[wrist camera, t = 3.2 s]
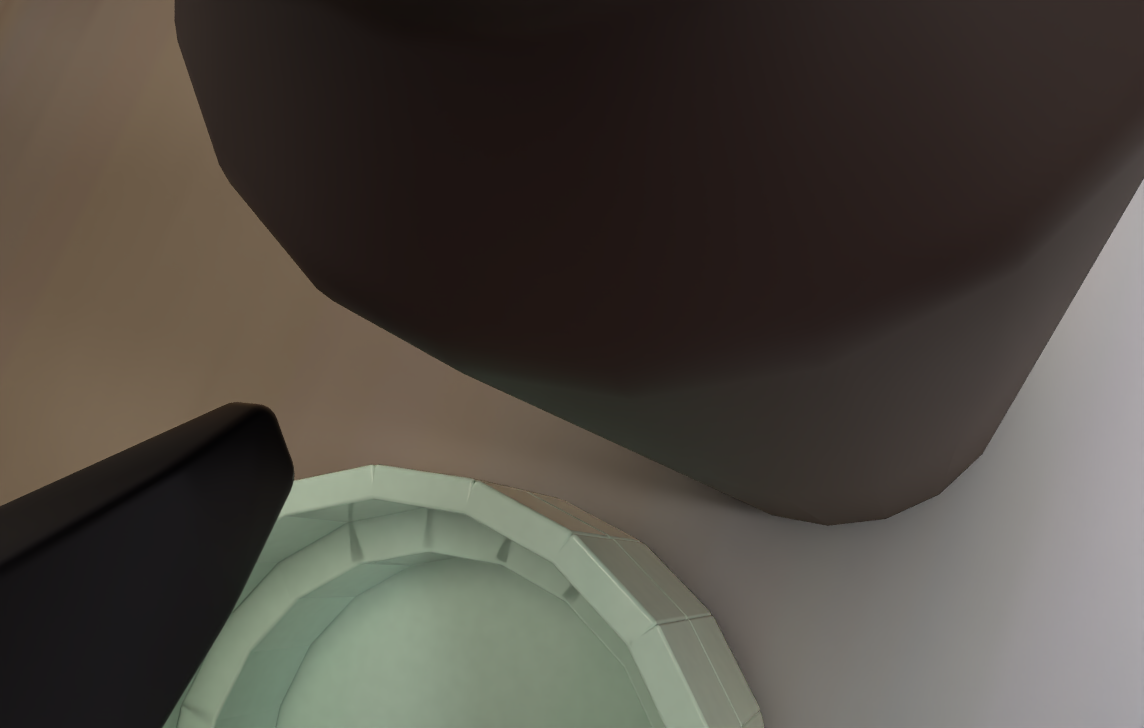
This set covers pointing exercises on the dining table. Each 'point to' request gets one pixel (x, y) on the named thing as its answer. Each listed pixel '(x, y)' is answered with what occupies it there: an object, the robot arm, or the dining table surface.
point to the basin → (460, 618)
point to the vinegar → (699, 209)
